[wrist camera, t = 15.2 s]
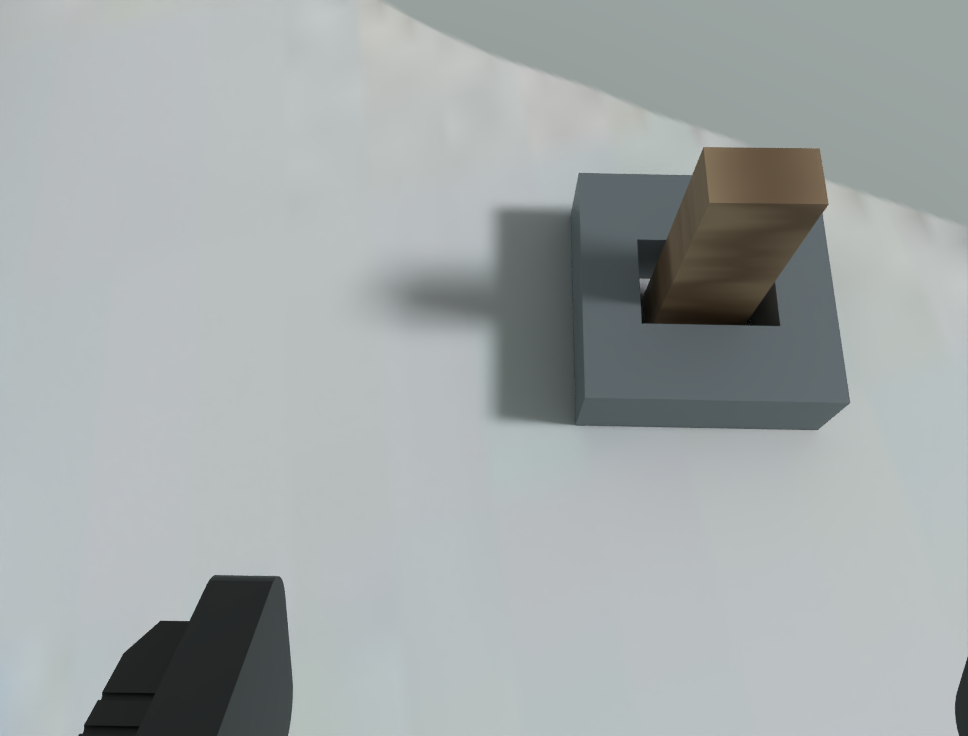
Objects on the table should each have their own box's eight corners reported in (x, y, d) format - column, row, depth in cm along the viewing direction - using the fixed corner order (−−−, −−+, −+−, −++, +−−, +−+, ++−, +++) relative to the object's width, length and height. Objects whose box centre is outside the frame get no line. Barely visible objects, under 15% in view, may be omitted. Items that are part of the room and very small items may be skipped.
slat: (646, 340, 45) (709, 202, 33) (643, 296, 46) (703, 147, 34) (733, 341, 45) (828, 204, 33) (728, 297, 46) (819, 148, 34)
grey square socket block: (575, 425, 43) (585, 397, 40) (570, 215, 48) (578, 173, 44) (817, 429, 43) (850, 402, 40) (790, 219, 48) (817, 177, 44)
